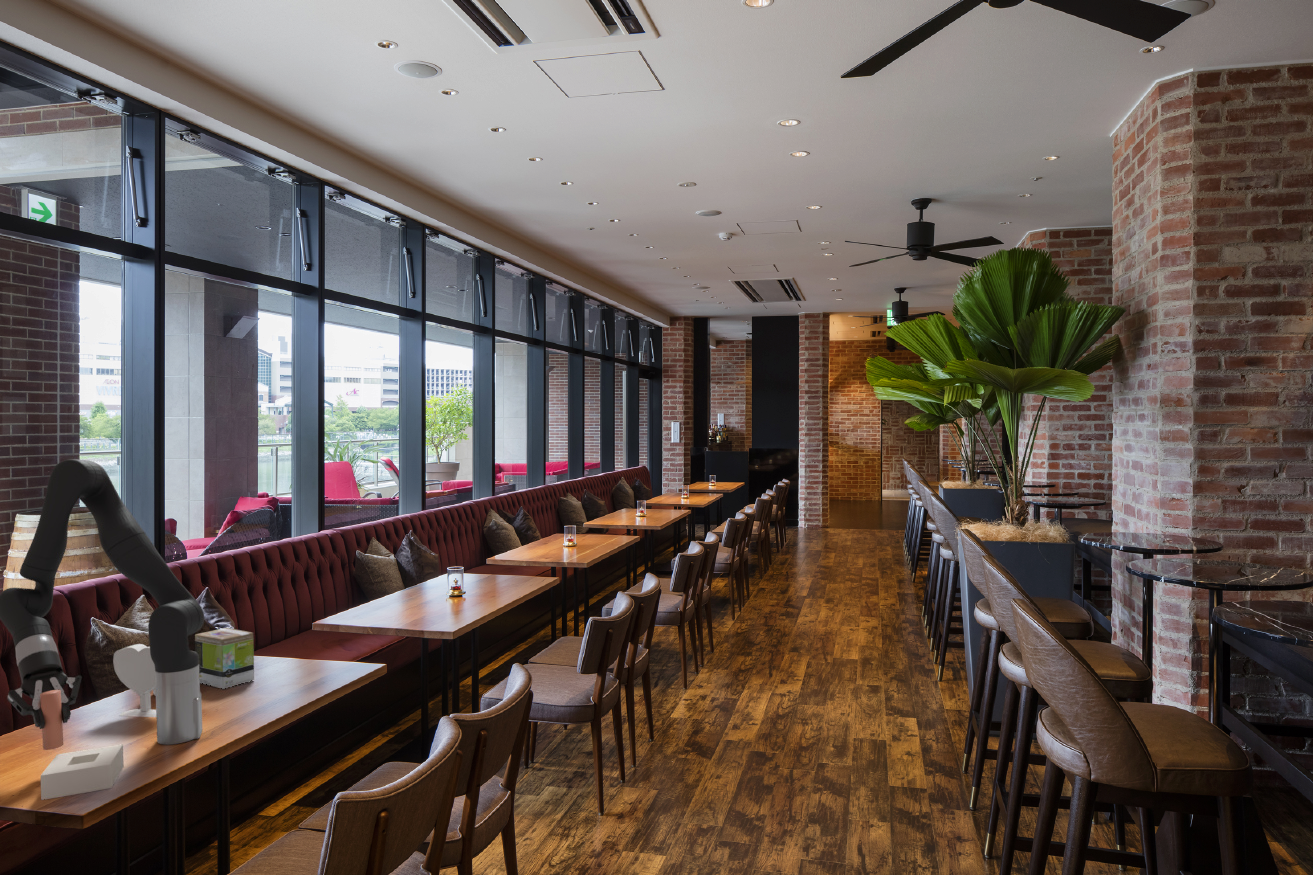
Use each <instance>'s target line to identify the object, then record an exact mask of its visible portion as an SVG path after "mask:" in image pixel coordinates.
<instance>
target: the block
mask: <svg viewBox="0 0 1313 875" xmlns="http://www.w3.org/2000/svg"><path fill="white" fill-rule="evenodd" d="M123 768H124V744H121V743H120V744H115V745H110V746H103V747H95V748H89V749H84V750H77V751H70V752H64V753H57V754H56V755H55V757H54V758H53V759H52V761H50V763H49V764H48V766H47V767H46V768H45V769H44V770H43V772H42V773H41V774H40V795H41V796H40V798H41V801H43V800H44V799H45V800H48V799H56V798H61V797H67V796H72V795H79V794H84V793H90V792H96V791H97V792H98V791H102V790H108V789H112V788H113V786H114V785H115V783H116V781H117V780H118V778H119V775H120V774H121V773H122V771H123Z"/></svg>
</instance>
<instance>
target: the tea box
mask: <svg viewBox="0 0 1313 875" xmlns="http://www.w3.org/2000/svg"><path fill="white" fill-rule="evenodd" d="M194 634H195V633H194ZM194 645H195V646H194V648H195V649H194V650H195V652H197V653H198V655H199V680H200V684H202V683H203V685H206V684H207V685H206V686H210V685H211V686H210V687H214V688H217V689H218V688H219V689H221V688H222V690H225V688H226V689H229V688H228V687H230V688H233V687H232V686H234V685H237V684H241V683H244V682H248V683H250V682H249V681H251V680H254V681H255V654H254V652H255V651H254V650H255V649H254V632H251V631H246V630H240V629H235V628H228V627H224V628H220V629H219V628H218V629H215V630H210V631H209V630H208V631H206V632H200V633H196V634H195V635H194ZM251 682H252V681H251ZM244 684H245V683H244ZM241 685H242V684H241ZM237 686H238V685H237ZM234 687H235V686H234Z"/></svg>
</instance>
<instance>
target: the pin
mask: <svg viewBox="0 0 1313 875" xmlns="http://www.w3.org/2000/svg"><path fill="white" fill-rule="evenodd" d="M40 701H41V702H40V709H42V712H43V717H44V721H45V726H44V728H43V729H41V734H42V736H41V737H42V749H43V750H44V751H50V750H56V749H58V748H61V747H63V746H64V730H63V729H64V728H63V721H62V708H61V690H51V691H47V692H43V693H41V694H40Z"/></svg>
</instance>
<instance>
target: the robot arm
mask: <svg viewBox="0 0 1313 875" xmlns="http://www.w3.org/2000/svg"><path fill="white" fill-rule="evenodd" d="M78 500H80V501H81V502H82V503H83V504H84V506H85V507H86V509H87V510H88V511H89V512H90V514H91V515H92V517H93V518H94V521H95V524H96V527H97V528H96V529H97V532H98V533H97V534H98V537H99V538H98V539H99V542H100V545H101V548H102V550H103V551H104V553H105V555H106V556H107V557H108V560H110V562H111V563H112V565H113V567H114V568H115V569H116V570H117V571H118V572H119V573H120V574H121V575H123V576H124V577H126V578H127V579H128V580H130V581H132V582H133V583H134V584H135V585H138V586H140V587H141V588H142V589H144V590H145V591H146V592H148V593H149V594H150V595H151V596H152V598H153V599H154V600H155V602H156V603H157V605H159V606H157V607H156V608H155V609H154V610H153V611H152V612H151V614H150V616H149V620H148V625H147V626H148V628H147V629H148V642H149V646H150V655H151V659H152V661H153V663H154V665H155V687H156V696H155V710H156V717H155V719H156V736H157V737H156V738H157V739H156V740H157V741H156V742H157V743H158V744H159V745H177V744H181V743H186V742H189V741H192V740H196V739H200V738H201V735H202V732H203V707H202V705H203V702H202V692H201V687H200V685H201V683H200V680H199V655H198V653H197V652H195V651H193V650H191V649H190V647H189V639H188V636H189V637H190V636H192V635H193V634H195V633H197V632H198V631H200V630H201V629H202V627H203V625H204V623H205V613H204V611H203V607H202V606H201V605H200V603H199V602H198V600H196V598H195V597H194V596H193V595H192V594H191V592H189V591H188V589H187V588H186V587H185V586H184V585H183V584H182V583H181V581H180V580H179V579H178V577H177V576H176V575H175V574H174V572H173V571H172V569H171V567H169V565H168V564H167V562H166V561H165V559H164V558H163V557H162V555H161V554H160V553H159V551H158V550H157V549H156V546H155V545H154V543H153V542H152V540H151V539H150V538H149V536H148V535H147V533H146V532H145V531H144V529H143V528H142V527H141V526H140V524H139V523H138V521H137V520H136V518H135V517H134V516H133V514H132V513H131V511H130V510H129V509H128V507H127V506H126V505H125V503H124V502H123V500H122V498H121V497H120V495H119V493H118V491H117V489H116V488H115V486H114V484H113V482H112V479H111V478H110V476H109V475H108V473H107V471H106V469H105V468H104V467H103V466H102V465H100V464H99V463H97V462H95V461H91V460H85V459H80V458H79V459H77V458H69V459H64V460H62V461H59V462H58V463H57V464H56V465H55V466H54V467H53V469H52V471H51V472H50V476H49V478H48V482H47V485H46V490H45V496H44V499H43V503H42V508H41V511H40V512H41V513H40V517H39V519H38V524H37V527H36V530H35V534H34V536H33V538H32V540H31V543H30V545H29V548H28V550H27V553H26V554H25V557H24V559H23V561H22V564H21V566H20V569H19V575H20V576H21V577H22V578H24V579H26V580H29V581H33V582H34V583H35V587H34V588H26V587H8V588H6V589H4V590H3V591H2V592H0V621H1V622H2V624H3V625H4V627H5V628H6V629H7V630H8V632H9V633H10V635H11V636H12V641H13V644H14V649H15V658H16V665H17V667H18V672H19V677H20V680H21V685H20V687H19V688H16V689H11V690H9V691H8V693H7V694H8V695H7V698H6V700H7V701H8V702H9V703H10V704H11V705H12V707H14V708H15V710H16V711H17V712H18V713H19V714H20V715H21V716H23V717H24V716H28V715H31V716H32V717H33V718H32V720H33V723H34V726H35V727H36V728H38V729H39V730H42V729H43V728H44V726H45V721H44V717H43V712H42V709H41V701H40V694H41V693H43V692H47V691H51V690H61V708H62V724H66V723H68V721H69V720H70V718H71V714H72V712H71V710H70V709H71V708H70V705H74V704H75V703H76V702H77V698H78V696H79V695H78V694H79V691H80V686H81V682H82V679H83V677H82V675H76V676H75V677H72V676H71V677H70V676H69V677H68V674H65V672H64V670H63V666H62V661H61V659H60V655H59V650H58V646H57V644H56V642H55V639H54V637H53V636H54V635H53V633H52V629H51V626H50V624H49V622H48V620H47V619H46V618H44V617H45V616H47V614H48V613H49V612H50V610H51V609H52V606H53V603H54V602H53V601H54V600H53V599H54V589H55V582H56V574H57V572H58V569H59V568H60V565H61V563H62V560H63V558H64V555H65V553H66V550H67V545H68V533H69V532H68V531H69V530H68V528H69V520H70V517H71V513H72V511H73V509H74V507H75V506H76V503H77V502H78ZM67 684H68V685H69V688H70V689H72V691H71V693H70V696H67V695H66V694H65V690H64V688H65V686H66V685H67ZM23 694H24V695H26V696H27V697H29V698H31V699H32V704H31V705H29V703H27V701H25V700H24V699H23Z"/></svg>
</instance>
